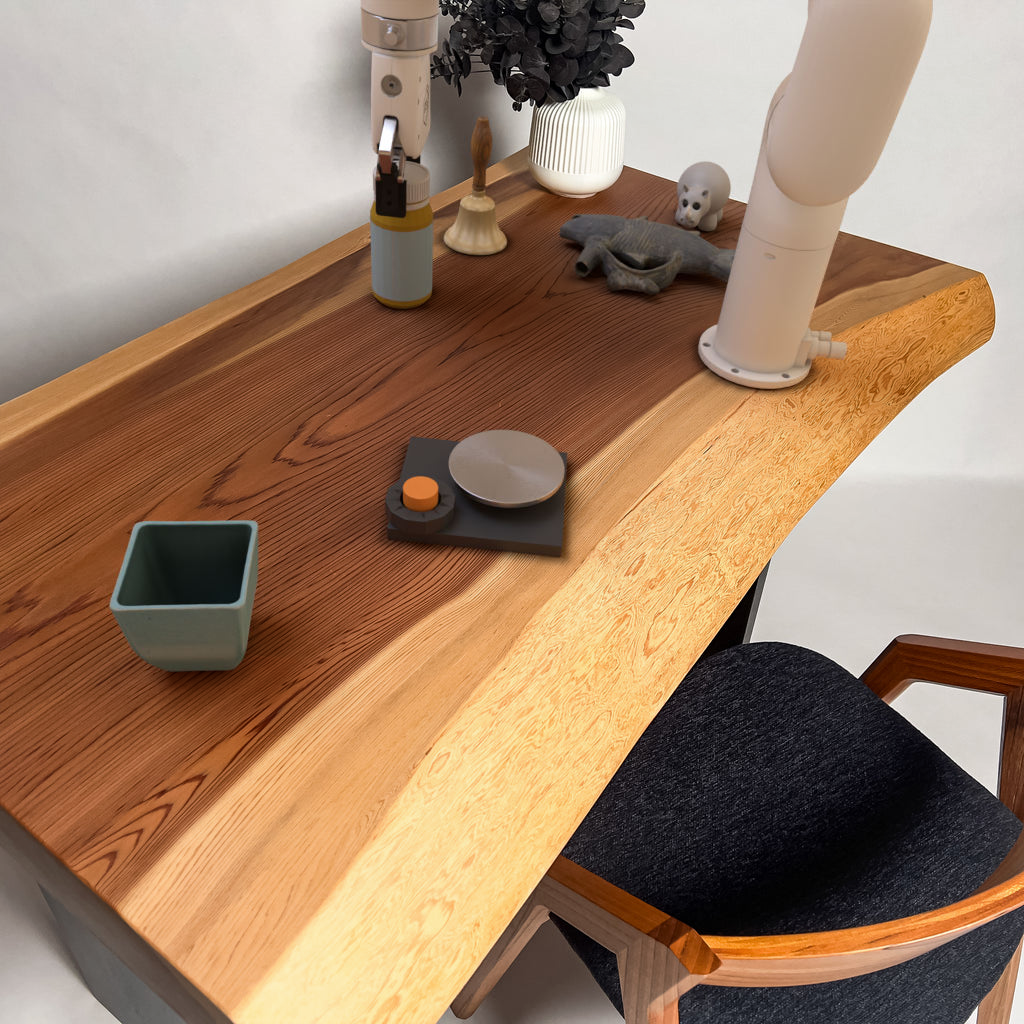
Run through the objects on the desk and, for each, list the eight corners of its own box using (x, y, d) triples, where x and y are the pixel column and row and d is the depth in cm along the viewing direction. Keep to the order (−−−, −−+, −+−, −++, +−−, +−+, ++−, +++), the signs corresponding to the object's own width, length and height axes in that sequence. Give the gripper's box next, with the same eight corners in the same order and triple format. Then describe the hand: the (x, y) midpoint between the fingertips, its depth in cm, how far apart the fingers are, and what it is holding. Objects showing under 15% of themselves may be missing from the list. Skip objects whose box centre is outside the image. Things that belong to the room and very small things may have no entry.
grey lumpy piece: (580, 189, 127) (531, 244, 118) (763, 234, 120) (726, 297, 111) (579, 223, 131) (531, 279, 122) (756, 269, 124) (719, 332, 114)
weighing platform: (566, 440, 90) (566, 435, 90) (561, 514, 82) (562, 508, 82) (455, 429, 90) (456, 424, 90) (441, 501, 82) (441, 496, 82)
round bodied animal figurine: (653, 239, 130) (664, 178, 124) (679, 207, 138) (691, 148, 132) (704, 253, 128) (717, 191, 122) (728, 220, 136) (742, 160, 130)
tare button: (440, 491, 84) (440, 478, 83) (435, 514, 82) (435, 500, 81) (406, 488, 84) (406, 474, 83) (400, 510, 82) (400, 497, 81)
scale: (565, 463, 92) (569, 439, 90) (560, 561, 82) (563, 536, 80) (406, 447, 92) (406, 422, 90) (381, 542, 82) (380, 517, 80)
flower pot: (156, 603, 76) (134, 519, 70) (270, 602, 77) (259, 518, 71) (132, 693, 69) (106, 609, 63) (258, 691, 70) (244, 607, 64)
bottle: (436, 284, 116) (438, 162, 106) (426, 314, 111) (428, 188, 101) (379, 278, 116) (376, 156, 106) (366, 307, 111) (362, 181, 101)
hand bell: (515, 234, 128) (525, 112, 117) (494, 261, 122) (502, 135, 111) (457, 221, 129) (461, 100, 119) (433, 247, 123) (436, 121, 113)
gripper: (424, 61, 88) (420, 235, 99) (448, 9, 101) (442, 169, 112) (343, 51, 88) (348, 227, 99) (377, 1, 101) (379, 161, 112)
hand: (398, 196), depth 106 cm, fingers open, 9 cm apart
